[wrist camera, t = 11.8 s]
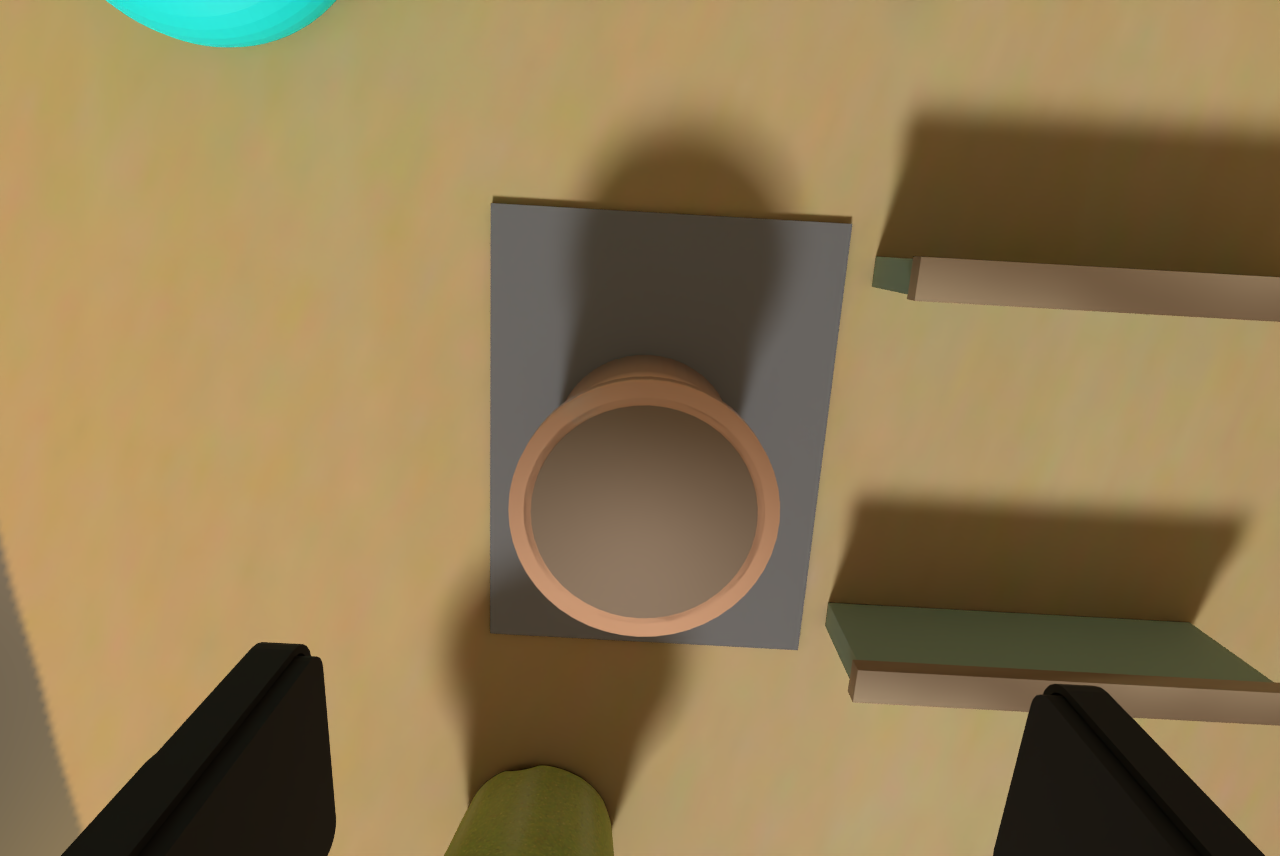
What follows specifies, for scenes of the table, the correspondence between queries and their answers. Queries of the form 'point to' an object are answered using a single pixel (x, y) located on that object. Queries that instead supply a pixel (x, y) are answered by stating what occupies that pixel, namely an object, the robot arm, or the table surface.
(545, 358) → the mat
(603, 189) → the table surface
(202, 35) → the teal small pieces
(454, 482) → the table surface
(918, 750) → the table surface
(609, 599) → the seedling pot
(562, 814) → the plant pot
